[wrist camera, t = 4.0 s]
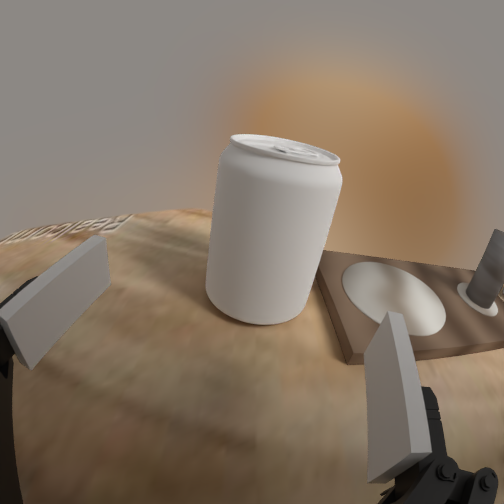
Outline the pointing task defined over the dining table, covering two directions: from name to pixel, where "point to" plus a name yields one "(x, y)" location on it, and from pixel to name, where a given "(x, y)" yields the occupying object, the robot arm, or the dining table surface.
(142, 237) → the dining table surface
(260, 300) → the beverage can
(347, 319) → the board
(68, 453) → the dining table surface
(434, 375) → the dining table surface
